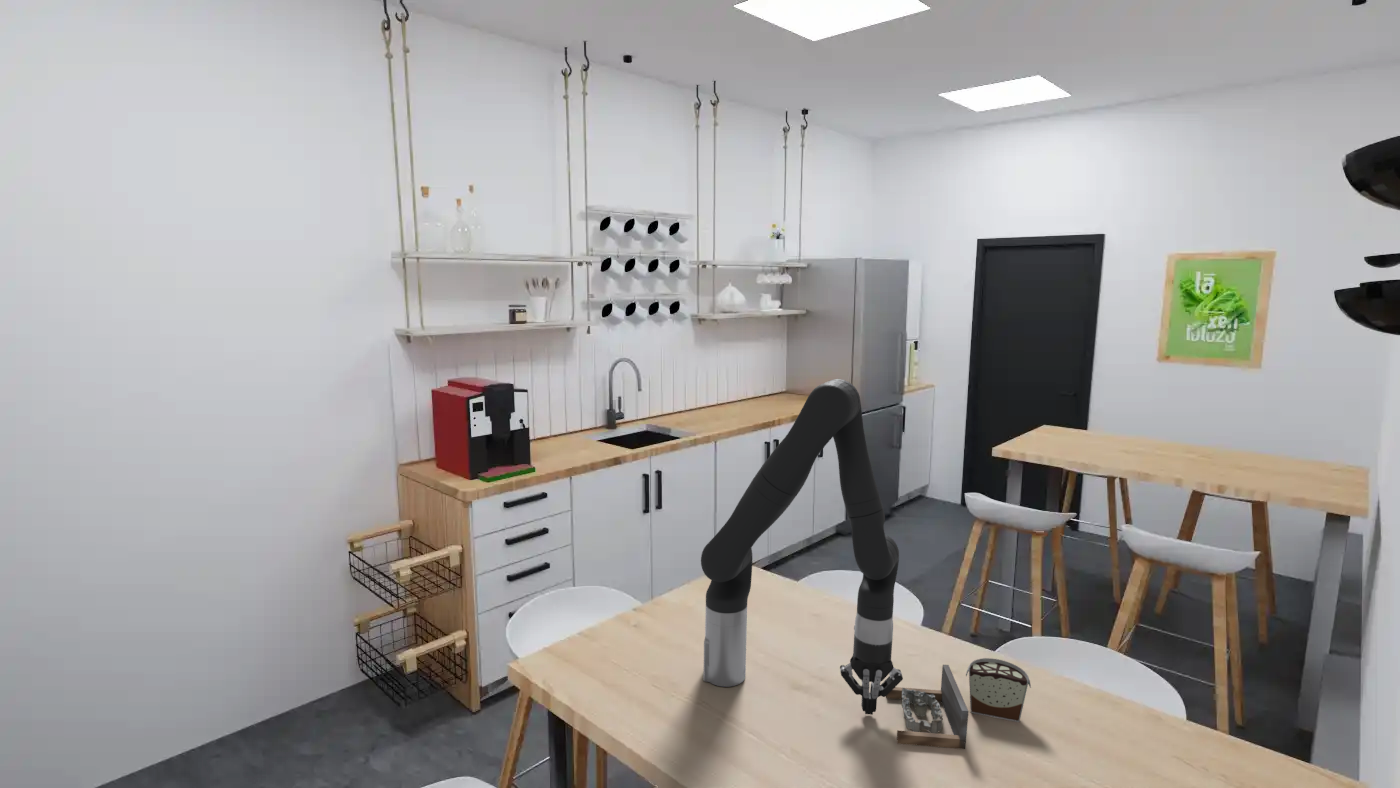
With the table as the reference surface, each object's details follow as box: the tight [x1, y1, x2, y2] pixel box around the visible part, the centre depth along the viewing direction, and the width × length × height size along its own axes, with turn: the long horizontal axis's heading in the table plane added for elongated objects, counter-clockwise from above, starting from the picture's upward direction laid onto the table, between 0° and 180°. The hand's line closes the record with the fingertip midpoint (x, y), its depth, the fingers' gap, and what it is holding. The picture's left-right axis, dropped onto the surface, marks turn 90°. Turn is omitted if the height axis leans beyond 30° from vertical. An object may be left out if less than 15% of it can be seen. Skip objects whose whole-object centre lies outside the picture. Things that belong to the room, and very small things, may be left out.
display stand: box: [885, 664, 970, 750], centre depth 144 cm, size 13×16×8 cm
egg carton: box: [901, 687, 944, 734], centre depth 146 cm, size 11×8×4 cm
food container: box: [965, 657, 1032, 723], centre depth 148 cm, size 12×6×10 cm, turn 71°
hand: (868, 712), depth 146 cm, fingers closed
